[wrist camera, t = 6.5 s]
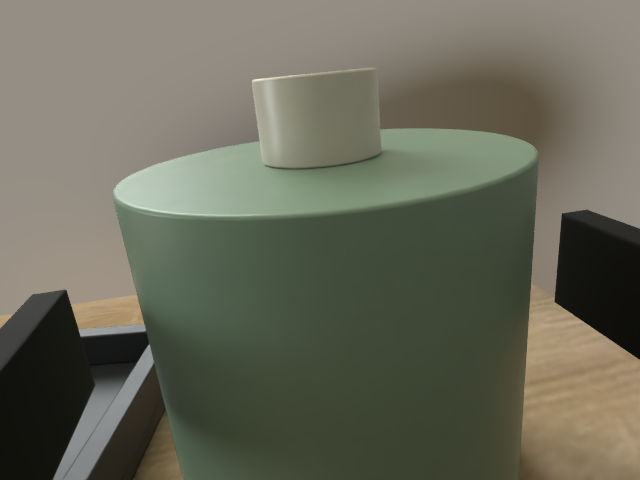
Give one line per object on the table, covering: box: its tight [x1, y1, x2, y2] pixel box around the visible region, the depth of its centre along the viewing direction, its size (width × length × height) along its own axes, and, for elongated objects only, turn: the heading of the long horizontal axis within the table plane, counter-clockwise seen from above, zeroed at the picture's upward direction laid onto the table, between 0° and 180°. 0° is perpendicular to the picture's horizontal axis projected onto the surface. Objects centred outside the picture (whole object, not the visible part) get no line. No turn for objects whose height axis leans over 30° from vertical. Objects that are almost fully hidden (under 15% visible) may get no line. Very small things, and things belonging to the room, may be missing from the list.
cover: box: [112, 68, 539, 480], centre depth 13 cm, size 10×10×12 cm
